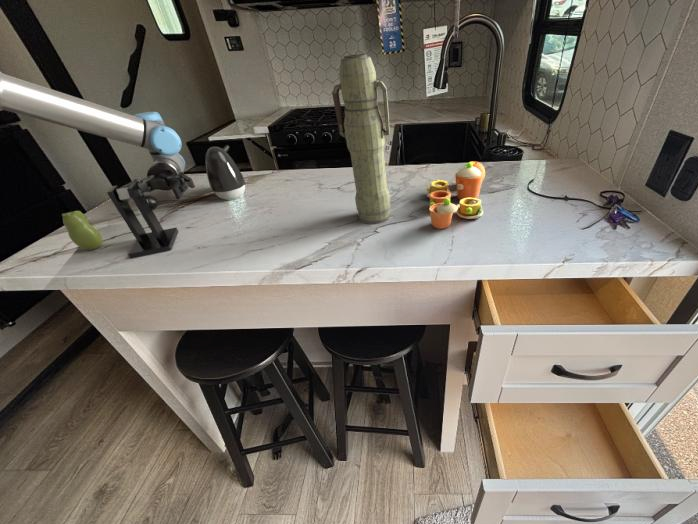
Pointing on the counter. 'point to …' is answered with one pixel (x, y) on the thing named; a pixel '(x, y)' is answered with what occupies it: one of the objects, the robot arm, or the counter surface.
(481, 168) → the clementine
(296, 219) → the counter surface
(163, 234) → the dark grey slanted stand
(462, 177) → the toy tea set
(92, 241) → the pear
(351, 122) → the thermos
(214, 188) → the pump dispenser
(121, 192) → the lever with ball knob
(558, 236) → the counter surface
